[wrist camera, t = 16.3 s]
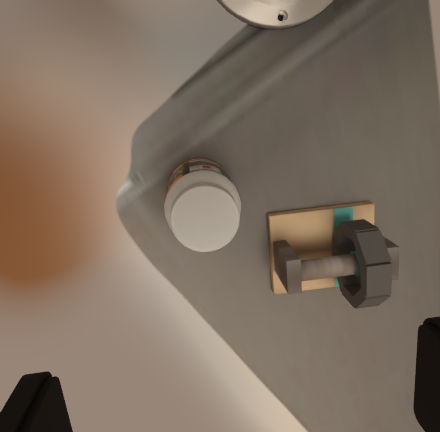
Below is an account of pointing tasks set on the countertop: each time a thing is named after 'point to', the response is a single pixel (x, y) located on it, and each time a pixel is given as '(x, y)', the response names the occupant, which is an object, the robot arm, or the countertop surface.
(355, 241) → the octagonal nut
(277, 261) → the rail
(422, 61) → the countertop surface
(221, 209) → the pill bottle
